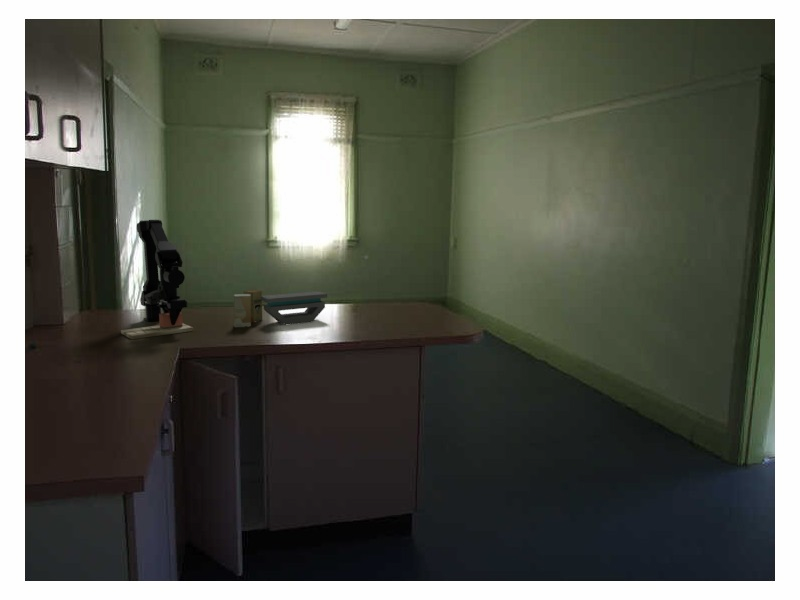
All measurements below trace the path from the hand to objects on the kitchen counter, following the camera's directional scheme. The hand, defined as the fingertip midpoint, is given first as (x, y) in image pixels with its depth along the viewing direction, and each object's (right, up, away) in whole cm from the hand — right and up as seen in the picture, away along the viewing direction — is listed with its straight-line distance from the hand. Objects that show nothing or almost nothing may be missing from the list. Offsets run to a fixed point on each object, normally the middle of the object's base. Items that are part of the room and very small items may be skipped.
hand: (171, 323), depth 226 cm
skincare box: (+25, -1, +8) cm, 26 cm away
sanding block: (0, -1, 0) cm, 1 cm away
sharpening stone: (+43, 0, +17) cm, 46 cm away
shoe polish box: (+26, 0, +19) cm, 32 cm away
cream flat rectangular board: (-4, -3, -3) cm, 6 cm away
